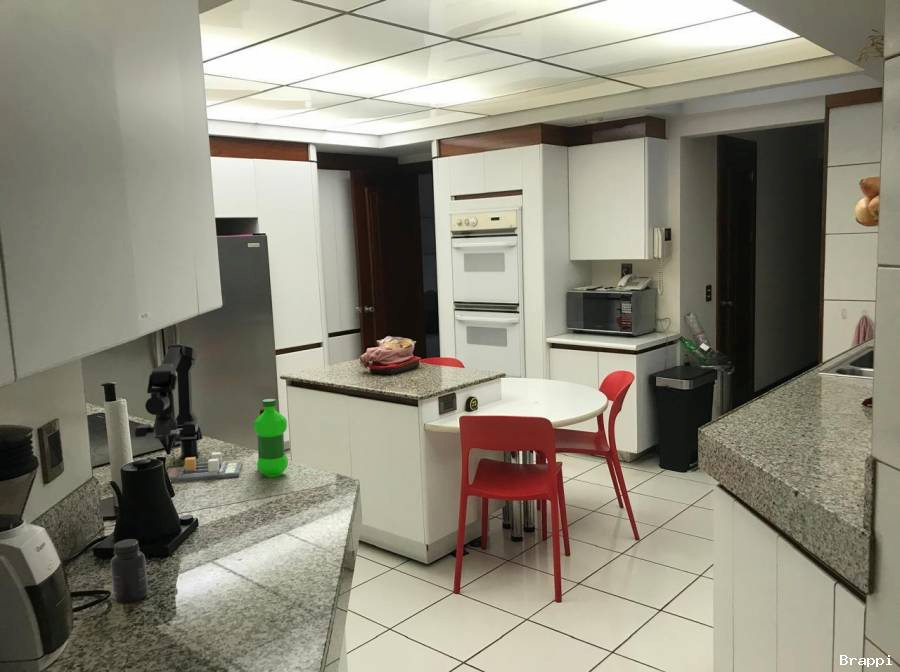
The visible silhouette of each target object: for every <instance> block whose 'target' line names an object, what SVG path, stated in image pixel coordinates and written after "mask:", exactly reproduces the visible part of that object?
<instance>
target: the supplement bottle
mask: <svg viewBox="0 0 900 672" xmlns="http://www.w3.org/2000/svg"><path fill="white" fill-rule="evenodd" d="M113 555H114V556H113V557H112V558H111V560H110V563H109V565H110V573H111V575H110V577H111V583H112V585H111V586H112V593H113V599H114V601H115V602H116V603H119V604H130V603H135V602H138V601H140V600H142V599H143V598H145V597H146V596H148V592H149V585H148V584H149V582H148V575H147V564H146V563H147V562H146V556H145V554H144V553H143V552H142V551H141V550H140V546H139V540H138V539H135V538H127V539H123V540H120V541H117V542H116V543H115V544H114V545H113Z"/></svg>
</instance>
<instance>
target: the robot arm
mask: <svg viewBox="0 0 900 672" xmlns="http://www.w3.org/2000/svg"><path fill="white" fill-rule="evenodd" d="M196 360H197V350H195V349H194V348H193V347H191V346H186V345H185V344H182V343H175V344H174V343H172V344H168V346H167V352H166V354H165V355H164V357H163V360H162V361H161V363H160V365H158V366H156V367H155V368H153V370H152V371H151V373H150V374H149V377H148V383H147V391H146V392H147V394H150V398H148V399H147V400H146V402H145V410H146V411H147V412H148V413H149V414H150V415H152V416H153V415H154V416H155V419H154V424H153V426H152V425H151V423H147V424H139V425H138V426H137V427H136V428H135V429H134V437H135V438H141V437H146V436H147V435H148V434H151V433H154V436H153V438H154V439H158V440H159V442H160V443H161V445H162V447H163V448H164V451H165V453H166V455H167V456H169V455H171V452H172V448H173V446H174V443H175V442H180V443H179V444H180V456H179V457H178V459H179V460H183V459H184V460H185V459H186V458H188V457H196V458H199V456H200V454H201V451H199V450H198V449H199V448H198V442H199V441H201V440H203V439H204V438H203V431H202V429H201V426H200V424H199V423H198V418H197V416H196V415H195V414H194V412H193V394H192V371H193V369H194V367H195V366H196ZM176 388H177V400H178V402H177V403H178V414H177V417H176V408H175V407H176V406H175V395H174V394H175V393H174V391H175V390H176Z"/></svg>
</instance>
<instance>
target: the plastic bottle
mask: <svg viewBox="0 0 900 672" xmlns="http://www.w3.org/2000/svg"><path fill="white" fill-rule="evenodd" d="M261 402H262V407H264V408H263V409H265V411H264V412H263V413H262V414H261V415H260V414H259V416H258V417H257V418H256V419H255V420H254V423H253V430H254V433H255V434H256V436H257V437H258V436H259V452H260V458H259V457H258V458H259V459H258V460H257V464H256V466H257V469H258V471H259V472H260V473H261V474H262V475H264V476H265V477H266V476H267V478H274V477H275V478H277V477H279V476H282V474H283V473H284V472H285V470H286V469H287V467H288V465H289V460H288V457H287V456H286V454H285V441H284V440H285V435H284V433H286V431H287V428H288V421H287V419H286V417H285V416H284V415H282V414H281V413H280V412H278V411H277V410H276V408H275V407H276V406H277V399H276V398H266V399H263V400H262V401H261Z"/></svg>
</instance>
